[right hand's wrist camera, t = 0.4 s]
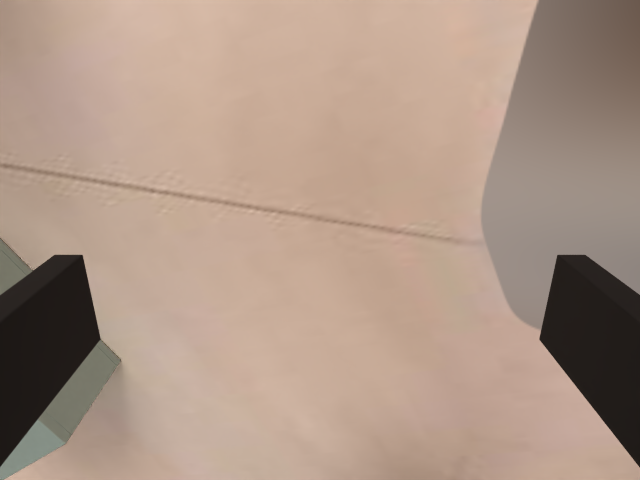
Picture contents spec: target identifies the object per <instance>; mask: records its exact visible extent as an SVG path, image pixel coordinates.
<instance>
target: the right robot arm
mask: <svg viewBox="0 0 640 480" xmlns="http://www.w3.org/2000/svg"><path fill="white" fill-rule="evenodd" d="M100 340H101V339H100V334H99V329H98V325H97V320H96V315H95V311H94V306H93V302H92V297H91V292H90V288H89V283H88V278H87V274H86V269H85V264H84V260H83V255H54V256H53V257H51V258H50V259H49V260H47V261H46V262H45V263H43V264H42V265H40V266H39V267H38V268H36V269H35V270H34V271H32V272H31V273H30V274H28V275H27V276H25V277H24V278H23V279H21V280H20V281H19V282H17V283H16V284H15V285H13V286H12V287H11V288H9V289H8V290H6V291H5V292H4V293H2V294H1V295H0V467H1V466H2V464H3V463H4V462H5V461H6V459H7V458H8V457H9V455H10V454H11V453H12V452H13V450H14V449H15V448H16V447H17V445H18V444H19V443H20V441H21V440H22V439H23V438H24V436H25V435H26V434H27V433H28V431H29V430H30V429H31V427H32V426H33V425H34V424H35V422H36V421H37V420H38V418H39V417H40V416H41V415H42V413H43V412H44V411H45V410H46V408H47V407H48V406H49V404H50V403H51V402H52V401H53V399H54V398H55V397H56V396H57V394H58V393H59V392H60V390H61V389H62V388H63V387H64V385H65V384H66V383H67V382H68V380H69V379H70V378H71V376H72V375H73V374H74V373H75V371H76V370H77V369H78V368H79V366H80V365H81V364H82V362H83V361H84V360H85V359H86V357H87V356H88V355H89V354H90V352H91V351H92V350H93V348H94V347H95V346H96V345H97V343H98V342H99V341H100ZM539 340H540V341H541V342H542V343H543V345H544V346H545V347H546V348H547V350H548V351H549V352H550V354H551V355H552V356H553V357H554V359H555V360H556V361H557V362H558V364H559V365H560V366H561V368H562V369H563V370H564V371H565V373H566V374H567V375H568V376H569V378H570V379H571V380H572V382H573V383H574V384H575V385H576V387H577V388H578V389H579V390H580V392H581V393H582V394H583V396H584V397H585V398H586V399H587V401H588V402H589V403H590V404H591V406H592V407H593V408H594V410H595V411H596V412H597V413H598V415H599V416H600V417H601V418H602V420H603V421H604V422H605V424H606V425H607V426H608V427H609V429H610V430H611V431H612V433H613V434H614V435H615V436H616V438H617V439H618V440H619V441H620V443H621V444H622V445H623V447H624V448H625V449H626V450H627V452H628V453H629V454H630V455H631V457H632V458H633V459H634V461H635V462H636V463H637V464H638V466H639V467H640V295H639V294H638V293H636V292H635V291H634V290H632V289H631V288H629V287H628V286H627V285H625V284H624V283H623V282H621V281H620V280H619V279H617V278H616V277H615V276H613V275H612V274H610V273H609V272H608V271H606V270H605V269H604V268H602V267H601V266H600V265H598V264H597V263H595V262H594V261H593V260H591V259H590V258H589V257H587V256H586V255H557V260H556V264H555V269H554V274H553V278H552V283H551V288H550V292H549V297H548V302H547V306H546V311H545V316H544V320H543V325H542V329H541V334H540V339H539Z"/></svg>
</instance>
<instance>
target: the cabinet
mask: <svg viewBox="0 0 640 480" xmlns="http://www.w3.org/2000/svg"><path fill="white" fill-rule="evenodd" d="M31 272H32V270H31V269H30V268H29V267H28V266H27V265H26V264H25V263H24V262H23V261H22V260H21V259H20V258H19V257H18V256H17V255H16V254H15V253H14V252H13V251H12V250H11V249H10V248H9V247H8V246H7V245H6V244H5V243H4V242H3V241H2V240H1V239H0V295H1V294H2V293H4V292H5V291H6V290H8V289H9V288H11V287H12V286H13V285H15V284H16V283H17V282H19V281H20V280H21V279H23V278H24V277H25V276H27V275H28V274H30V273H31ZM120 361H121V360H120V359H119V358H118V357H117V356H116V355H115V354H114V353H113V352H112V351H111V350H110V349H109V348H108V347H107V346H106V345H105V344H104V343H103V342H102V341H101V340H100V341H99V342H98V343H97V345H96V346H95V347H94V348H93V350H92V351H91V352H90V354H89V355H88V356H87V357H86V359H85V360H84V361H83V362H82V364H81V365H80V366H79V368H78V369H77V370H76V371H75V373H74V374H73V375H72V376H71V378H70V379H69V380H68V382H67V383H66V384H65V385H64V387H63V388H62V389H61V390H60V392H59V393H58V394H57V396H56V397H55V398H54V399H53V401H52V402H51V403H50V404H49V406H48V407H47V408H46V410H45V411H44V412H43V413H42V415H41V416H40V417H39V418H38V420H37V421H36V422H35V424H34V425H33V426H32V427H31V429H30V430H29V431H28V433H27V434H26V435H25V436H24V438H23V439H22V440H21V441H20V443H19V444H18V445H17V447H16V448H15V449H14V450H13V452H12V453H11V454H10V455H9V457H8V458H7V459H6V461H5V462H4V463H3V464H2V466H1V467H0V480H4V479H6V478H7V477H9V476H11V475H13V474H14V473H16V472H18V471H19V470H21V469H23V468H25V467H26V466H28V465H30V464H32V463H33V462H35V461H37V460H38V459H40V458H42V457H44V456H45V455H47V454H49V453H51V452H52V451H54V450H56V449H58V448H59V447H61V446H63V445H64V444H66V442H67V441H68V439H69V438H70V436H71V435H72V433H73V432H74V430H75V429H76V427H77V426H78V424H79V423H80V421H81V420H82V418H83V417H84V415H85V414H86V412H87V411H88V409H89V408H90V406H91V405H92V403H93V402H94V400H95V399H96V397H97V396H98V394H99V393H100V391H101V390H102V388H103V387H104V385H105V384H106V382H107V381H108V379H109V378H110V376H111V375H112V373H113V372H114V370H115V369H116V367H117V365H118V364H119V362H120Z"/></svg>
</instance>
